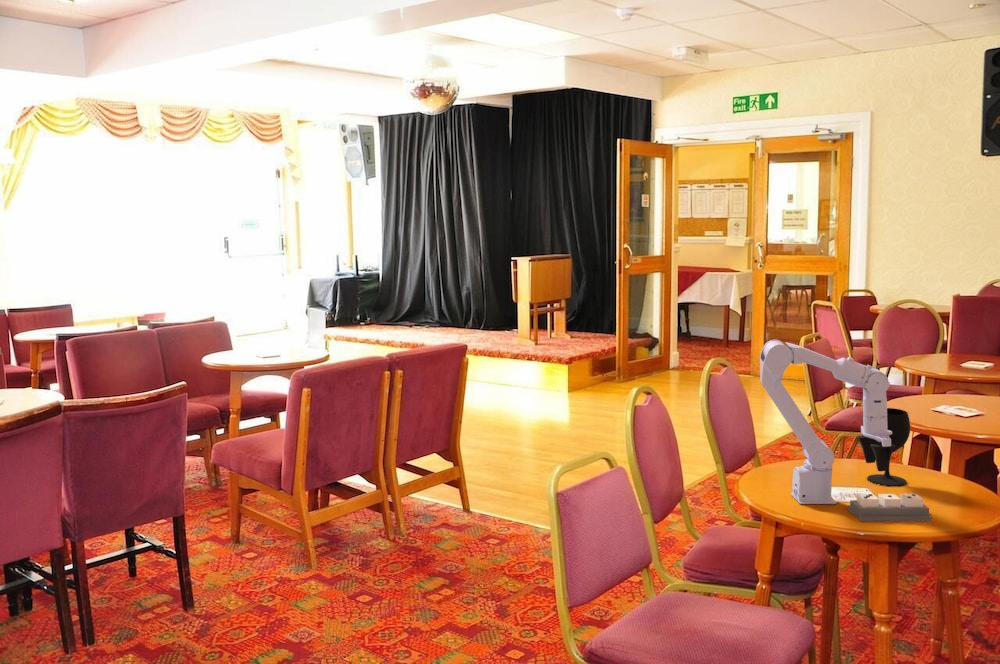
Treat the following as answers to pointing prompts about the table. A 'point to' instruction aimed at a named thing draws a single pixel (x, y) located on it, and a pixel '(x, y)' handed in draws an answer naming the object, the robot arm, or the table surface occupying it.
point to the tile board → (889, 513)
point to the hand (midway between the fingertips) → (876, 466)
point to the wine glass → (899, 437)
